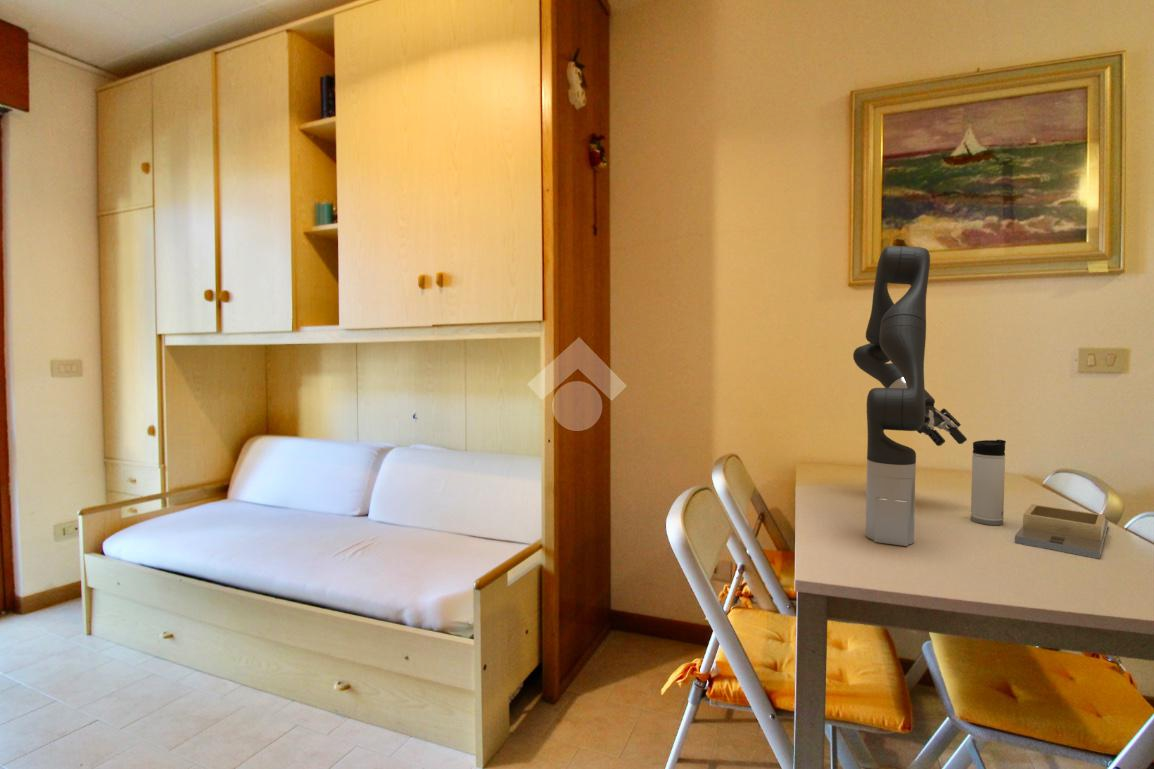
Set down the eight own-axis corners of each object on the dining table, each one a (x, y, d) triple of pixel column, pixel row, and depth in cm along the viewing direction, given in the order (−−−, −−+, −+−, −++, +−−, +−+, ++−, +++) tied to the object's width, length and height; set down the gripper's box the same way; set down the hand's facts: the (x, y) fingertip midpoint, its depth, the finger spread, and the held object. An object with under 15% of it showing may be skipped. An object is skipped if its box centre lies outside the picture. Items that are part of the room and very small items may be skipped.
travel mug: (1011, 525, 125) (1014, 442, 124) (983, 525, 125) (985, 442, 124) (991, 518, 131) (993, 438, 130) (964, 517, 131) (966, 438, 131)
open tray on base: (1099, 559, 104) (1100, 536, 103) (1014, 542, 113) (1015, 522, 113) (1107, 526, 124) (1108, 507, 124) (1035, 515, 134) (1035, 497, 133)
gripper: (902, 387, 140) (945, 435, 130) (937, 386, 145) (981, 432, 135) (883, 405, 145) (924, 453, 135) (918, 404, 151) (959, 449, 140)
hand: (952, 443), depth 135 cm, fingers open, 8 cm apart
